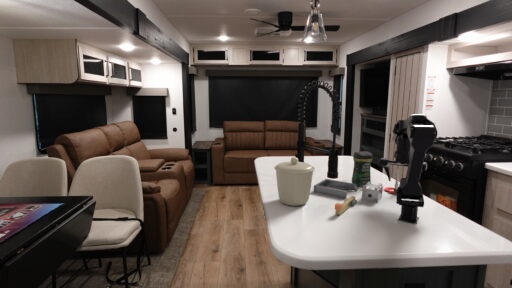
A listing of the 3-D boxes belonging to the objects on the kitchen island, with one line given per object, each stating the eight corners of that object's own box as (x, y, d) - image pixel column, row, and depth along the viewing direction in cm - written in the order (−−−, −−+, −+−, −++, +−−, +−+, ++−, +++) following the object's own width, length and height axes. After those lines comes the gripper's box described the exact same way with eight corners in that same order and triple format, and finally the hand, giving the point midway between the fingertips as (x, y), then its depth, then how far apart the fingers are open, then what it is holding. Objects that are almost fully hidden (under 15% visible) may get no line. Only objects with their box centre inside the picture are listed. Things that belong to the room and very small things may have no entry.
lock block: (377, 203, 130) (378, 188, 129) (361, 200, 134) (362, 186, 133) (382, 197, 138) (383, 183, 136) (367, 194, 142) (367, 181, 141)
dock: (353, 206, 126) (354, 198, 126) (307, 196, 140) (307, 189, 139) (368, 192, 144) (368, 186, 144) (325, 184, 158) (325, 178, 157)
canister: (314, 197, 138) (316, 154, 135) (311, 211, 121) (313, 162, 117) (278, 194, 143) (278, 152, 139) (270, 207, 126) (270, 160, 122)
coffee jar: (357, 187, 153) (359, 153, 151) (349, 182, 161) (351, 150, 158) (373, 186, 155) (375, 152, 152) (364, 181, 163) (366, 150, 160)
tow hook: (382, 189, 152) (387, 193, 143) (383, 165, 150) (389, 168, 141) (399, 189, 151) (405, 194, 142) (400, 165, 149) (407, 169, 140)
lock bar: (340, 215, 116) (340, 205, 115) (334, 214, 117) (334, 204, 116) (355, 201, 132) (356, 192, 131) (350, 200, 133) (351, 191, 132)
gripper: (429, 147, 126) (426, 182, 129) (384, 144, 137) (382, 175, 139) (427, 151, 117) (424, 188, 120) (379, 147, 128) (377, 180, 130)
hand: (400, 182), depth 128 cm, fingers open, 9 cm apart
